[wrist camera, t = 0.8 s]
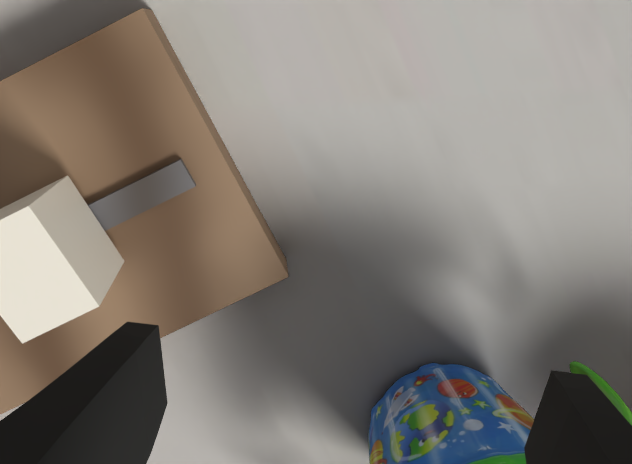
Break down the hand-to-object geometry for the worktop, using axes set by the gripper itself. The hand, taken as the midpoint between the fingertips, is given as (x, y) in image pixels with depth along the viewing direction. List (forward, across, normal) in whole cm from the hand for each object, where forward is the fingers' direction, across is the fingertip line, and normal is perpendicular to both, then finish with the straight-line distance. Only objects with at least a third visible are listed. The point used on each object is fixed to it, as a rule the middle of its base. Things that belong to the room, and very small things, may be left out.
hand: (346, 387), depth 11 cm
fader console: (+12, +16, +6) cm, 20 cm away
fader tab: (+10, +11, +4) cm, 16 cm away
